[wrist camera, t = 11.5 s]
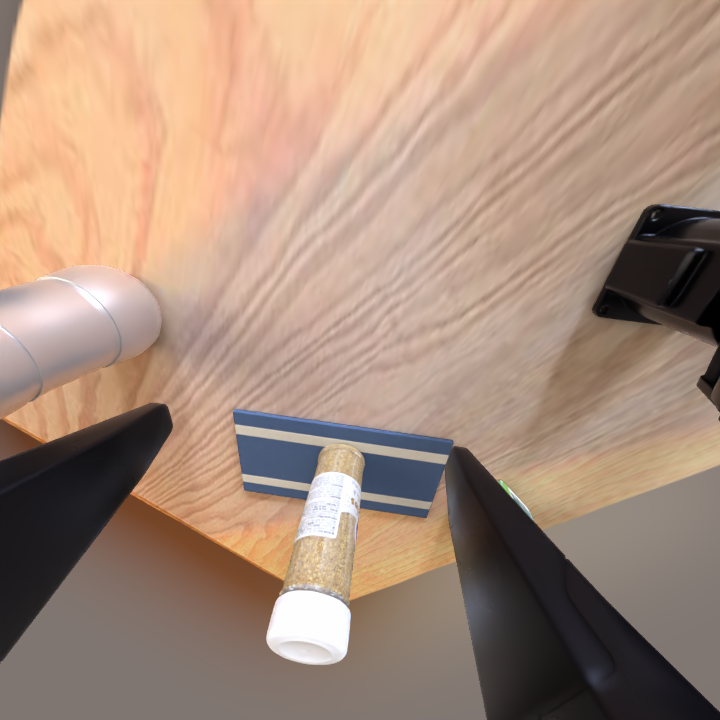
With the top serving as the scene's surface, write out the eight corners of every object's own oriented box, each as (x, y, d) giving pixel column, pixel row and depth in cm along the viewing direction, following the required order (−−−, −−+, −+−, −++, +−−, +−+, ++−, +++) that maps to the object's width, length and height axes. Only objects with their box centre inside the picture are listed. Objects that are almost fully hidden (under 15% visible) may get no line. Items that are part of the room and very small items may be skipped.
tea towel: (452, 440, 25) (453, 443, 25) (426, 514, 30) (426, 518, 30) (234, 408, 26) (232, 411, 25) (245, 487, 31) (243, 490, 31)
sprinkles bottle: (367, 474, 28) (351, 672, 16) (322, 474, 28) (274, 664, 16) (363, 440, 26) (340, 638, 14) (314, 440, 26) (253, 631, 14)
